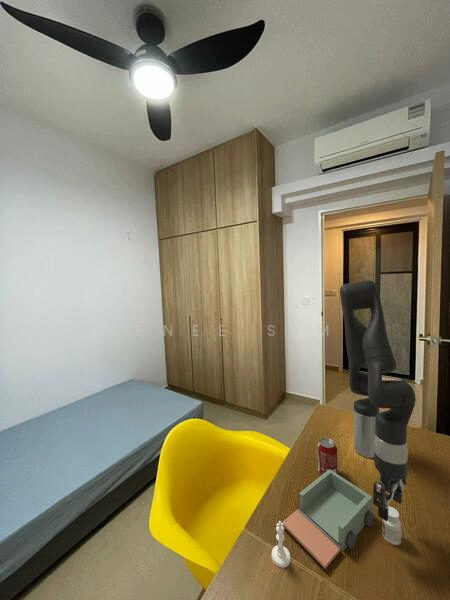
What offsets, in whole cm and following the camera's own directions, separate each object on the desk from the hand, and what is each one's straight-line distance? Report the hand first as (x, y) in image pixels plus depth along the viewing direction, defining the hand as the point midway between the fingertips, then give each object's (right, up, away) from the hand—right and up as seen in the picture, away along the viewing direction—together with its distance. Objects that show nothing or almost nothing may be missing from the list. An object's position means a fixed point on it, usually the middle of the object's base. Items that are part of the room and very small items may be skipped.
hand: (390, 509), depth 68 cm
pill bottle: (+1, -9, +1) cm, 9 cm away
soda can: (-7, -7, +24) cm, 26 cm away
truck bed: (-12, -8, +8) cm, 16 cm away
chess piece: (-31, -10, -3) cm, 33 cm away
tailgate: (-19, -8, +3) cm, 21 cm away
